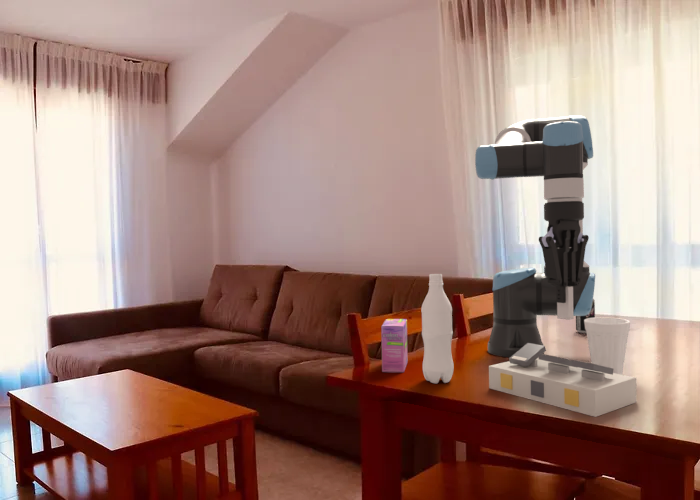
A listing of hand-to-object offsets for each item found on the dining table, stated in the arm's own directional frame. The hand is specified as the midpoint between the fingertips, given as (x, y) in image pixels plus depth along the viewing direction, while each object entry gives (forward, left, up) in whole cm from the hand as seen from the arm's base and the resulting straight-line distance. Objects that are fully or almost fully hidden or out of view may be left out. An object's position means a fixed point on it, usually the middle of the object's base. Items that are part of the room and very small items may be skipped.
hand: (565, 318), depth 122 cm
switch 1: (-3, -12, -10) cm, 16 cm away
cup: (-24, -6, -17) cm, 30 cm away
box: (+7, -46, -17) cm, 50 cm away
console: (-3, -4, -17) cm, 18 cm away
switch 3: (-3, +4, -10) cm, 11 cm away
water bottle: (+8, -29, -17) cm, 35 cm away
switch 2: (-3, -4, -10) cm, 11 cm away
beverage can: (-68, -41, -17) cm, 82 cm away
